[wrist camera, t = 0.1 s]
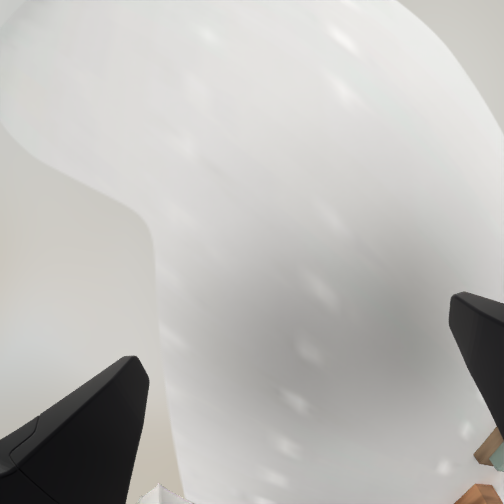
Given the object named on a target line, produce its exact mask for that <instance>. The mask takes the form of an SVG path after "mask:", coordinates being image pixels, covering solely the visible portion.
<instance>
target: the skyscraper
mask: <svg viewBox="0 0 504 504" xmlns="http://www.w3.org/2000/svg"><path fill="white" fill-rule="evenodd" d="M137 504H193V503H191V502H189V501H187V500H186V499H184V498H182V497H180V496H179V495H177V494H175V493H173V492H171V491H170V490H168V489H167V488H165V487H163V486H162V485H161V484H160V483H158V484H157V487H155V488H154V489H152V490H151V491H150V492H148V493H147V494H146V495H144V496H141V497H140V498H139V500H138V502H137Z"/></svg>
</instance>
